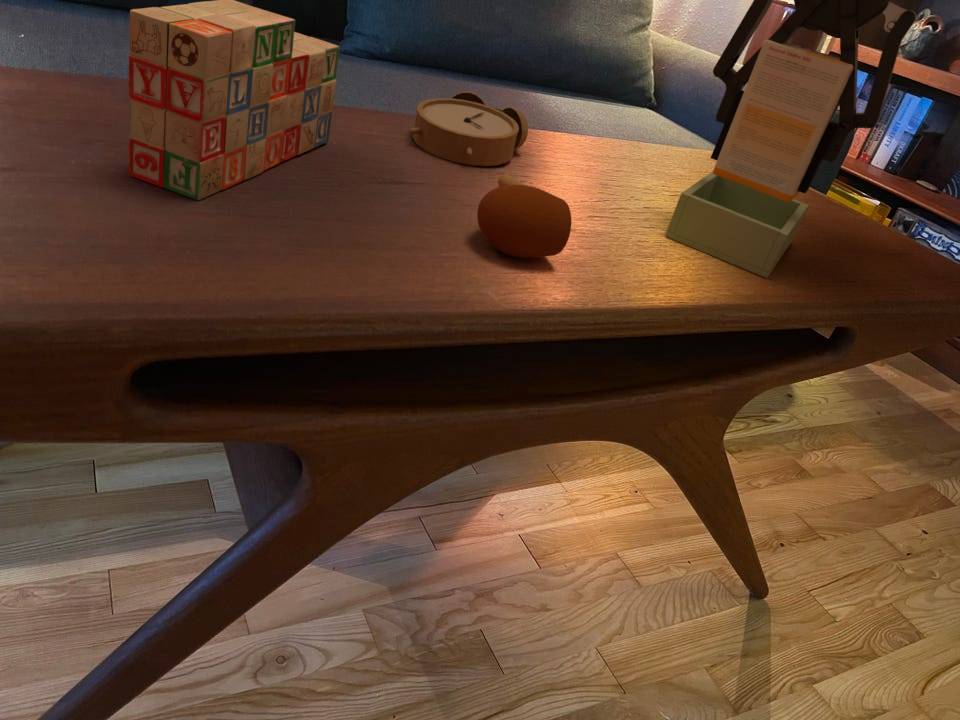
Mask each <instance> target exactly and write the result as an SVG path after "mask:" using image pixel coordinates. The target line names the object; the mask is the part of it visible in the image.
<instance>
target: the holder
mask: <svg viewBox="0 0 960 720" xmlns="http://www.w3.org/2000/svg"><path fill="white" fill-rule="evenodd" d="M808 208H809V204H807V203H804V202H802V201H800V200H797V199H795V198H794V199H793V200H791V201H790V202H789V203H787V202H785V201H782V200H780V199H777V198H775V197H772V196H769V195H767V194H764V193H762V192H759V191H757V190H754V189H752V188H749V187H747V186H744V185H741V184H739V183H736V182H733V181H731V180H728V179H725V178H723V177H719V176H717V175H714V174H713V170H712V171H711V172H710V173H708V174H706V175H705V176H704V177H702V178H701V179H700V180H698V181H696V182H695V183H694V184H692V185H691V186H689V187H688V188H686V189H685V190H684V191H682V192H681V193H680V195H679V198H678V200H677V203H676V206H675V208H674V211H673V213H672V216H671V218H670V221H669V224H668V227H667V228H666V231H665V234H664V237H666V238H668V239H671V240H674V241H675V242H678V243H681V244H683V245H685V246H688V247H690V248H692V249H695V250H698V251H699V252H702V253H704V254H707V255H709V256H712V257H714V258H717V259H719V260H721V261H724V262H727V263H729V264H731V265H733V266H735V267H738V268H741V269H743V270H746V271H748V272H750V273H753V274H754V275H757V276H760V277H762V278H765V279H768V278H769V276H770V275H771V273H772V272H773V270H774V269H775V267H776V266H777V264H778V262H779V261H780V260H781V258H782V257H783V256H784V254H785V252H786V251H787V249H788V248H789V246H790V245H791V243H792V242H793V239H794V237H795V236H796V235H795V234H796V233H797V231H798V228H799V226H800V225H801V222H802V220H803V218H804V216H805V214H806V212H807V210H808Z"/></svg>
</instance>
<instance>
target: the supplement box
mask: <svg viewBox="0 0 960 720" xmlns="http://www.w3.org/2000/svg"><path fill="white" fill-rule="evenodd" d="M768 39H769V38H768ZM768 39H764V40H763V42H762V45H761V46H762V48H761V50H760V53H759V55H758V58H757V61H756V63H755V66H754V68H753V71H752V73H751V76H750V78H749V81H748V83H747V84H746V85H745V87H744V88H745V89H744V90H743V91H744V93H743V96H742V99H741V101H740V104H739V106H738V109H737V111H736V114H735V116H734V119H733V121H732V124H731V126H730V129H729V132H728V134H727V136H726V139H725V142H724V144H723V147H722V149H721V152H720V154H719V157H718V160H716V163H715V165H714V168H713V170H712V171H713V174H714V175H717V176H719V177H723V178H725V179H728V180H731V181H733V182H736V183H739V184H741V185H744V186H747V187H749V188H752V189H754V190H757V191H759V192H762V193H764V194H767V195H769V196H772V197H775V198H777V199H780V200H782V201H785V202H787V203H789V202H790V201H791V200H793V199H794V200H795V198H796V197H797V196H798V195H799V194H800V192H799V191H798V189H799V186H800V184H801V182H802V180H803V178H804V176H805V174H806V172H807V170H808V167H809V165H810V163H811V161H812V159H813V157H814V155H815V153H816V150H817V148H818V146H819V144H820V142H821V140H822V138H823V136H824V134H825V131H826V129H827V127H828V125H829V124H830V123H831V122H832V121H833V120H834V118H835V115H836V113H837V111H838V109H839V104H840V97H841V94H842V92H843V90H844V88H845V86H846V83H847V81H848V79H849V77H850V75H851V73H852V70H853V65H851V64H848V63H845V62H842V61H840V57H837V56H835V55H831V54H827V53H824V52H821V51H817V50H816V49H811V48H808V47H805V46H801V45H798V44H795V43H792V42H789V41H788V42H786V43H783V44H780V43H777V42H774V41H770V40H768Z"/></svg>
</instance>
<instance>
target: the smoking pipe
mask: <svg viewBox="0 0 960 720" xmlns="http://www.w3.org/2000/svg"><path fill="white" fill-rule="evenodd" d="M497 184H498V187H496V188H493V189H491V190H490V191H488V192H487V193H486V194H484V196H483V197H482V198H481V200H480V201H479V203H478V206H477V212H476V213H477V214H476V216H477V217H476V218H477V224H478V227H479V229H480V231H481V233H482V235H483V237H484V238H485V239H486V241H487V242H488V244H489V245H491V246H492V247H494V249H496V250H498V251H500V252H502V253H503V254H505V255H508V256H509V257H514V258H519V259H520V258H524V259H530V258H531V259H532V258H542V257H552V256H553V257H554V256H556V255H558V254H560V253H561V252H562V251H563V250H564V249H565V247H566V246H567V243H568V241H569V238H570V236H571V231H572V213H571V209H570V206H569V205H568V202H567V201H566V200H565V199H563V198H561V197H559V196H557V195H554V194H552V193H550V192H548V191H546V190H543V189H542V188H539V187H535V186H531V185H527V184H526V183H524V182H521V181H520V180H518V179H516V178H515V177H513V176H512V174H509V173H503V174H500V176H499V177H498V180H497Z"/></svg>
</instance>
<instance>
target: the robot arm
mask: <svg viewBox="0 0 960 720" xmlns="http://www.w3.org/2000/svg"><path fill="white" fill-rule="evenodd" d="M773 1H774V0H753V1H752V3H750V6H749V8H748V9H747V11H746V12H745V14H744V16H743V18H742V20H741V21H740V23H739V25H738V26H737V28H736V30H735V31H734V33H733V34H732V36H731V38H730V39H729V41H728V43H727V45H726V46H725V48H724V50H723V51H722V54H721V55H720V56H719V58H718V60H717V62H716V63H715V64H714V67H713V70H712V74H713V76H714V77H716V78H718V79H719V80H720V81H722V82H723V84H724V85H725V92H724V94H723V96H722V98H721V102H720V104H719V106H718V109H717V112H716V115H715V122H718V123H721V124H723V125H722V128H721V130H720V133H719V135H718V138H717V140H716V143H715V145H714V148H713V150H712V152H711V155H710V159H712V160H714V161H717V160H718V157H719V154H720V152H721V149H722V147H723V144H724V142H725V139H726V136H727V134H728V132H729V129H730V126H731V124H732V121H733V119H734V116H735V114H736V111H737V109H738V106H739V104H740V101H741V99H742V96H743V93H744V91H745V90H743V89H744V88H745V87H746V86H747V83H748V81H749V78H750V76H751V73H752V71H753V68H754V66H755V63H756V61H757V58H758V55H759V53H760V50H761V48H762V45H761V46H760V47H759V48H758V49H757V50H756V52H755V53H753V55H752V56H751V57H749V59H748V60H747V61H746V62H745V63H744V64H743V65H742V66H741V67H740V68H739V69H738V70H737V71H736V69H734V67H735V65H736V64H737V62H738V60H739V58H740V57H741V55H742V54H743V52H744V50H745V49H746V47H747V46H748V44H749V42H750V41H751V39H752V37H753V36H754V34H755V32H756V31H757V29H758V27H759V26H760V25H761V23H762V21H763V19H764V18H765V16H766V14H767V13H768V11H769V9H770V8H771V5H772V3H773ZM793 3H794V8H795V9H794V11H792V13H791V14H790V15H789V16H788V17H787V18H786V19H785V20H784V21H783V23H782V24H781V25H780V26H779V27H778V28H777V30H776V31H774V33H773V34H772V35H771V36H770V37H769V38H768V40H770V41H774V42H777V43H780V44H783V43H786V42H789V41H790V40H791V39H792V38H793V37H794V36H795V35H796V34H797V33H799V31H800V30H801V29H802V28H803V29H806V30H809V31H821V32H823V33H824V34H826V35H827V36H829V37H832V38H835V39H838V38H839V50H840V55H839V58H840V61H842V62H845V63H848V64H851V65H853V70H852V73H851V75H850V77H849V79H848V81H847V83H846V86H845V88H844V90H843V92H842V94H841V97H840V104H839V107H838V109H839V110H838V113H839V115H838V122H836V121H833V120H832V122H831V123H830V124H829V125H828V127H827V129H826V131H825V134H824V136H823V138H822V140H821V142H820V144H819V146H818V148H817V150H816V153H815V155H814V157H813V159H812V161H811V163H810V165H809V167H808V170H807V172H806V174H805V176H804V178H803V180H802V182H801V184H800V186H799V189H798V191H799V193H802V194H803V195H804V194H806V193H807V192H808V191H809V189H810V187H811V185H812V183H813V181H814V179H815V177H816V175H817V173H818V171H819V169H820V167H821V164H822V162H823V161H826V162H829V163H833V162H834V161H835V160H837V158H838V157H839V155H840V153H841V151H842V149H843V147H844V146H845V143H846V141H847V139H848V137H849V135H850V133H851V132H852V131H853V130H855V129H872V128H874V127H876V125H877V124H878V121H879V120H880V116H881V114H882V110H883V106H884V103H885V99H886V96H887V93H888V90H889V86H890V83H891V80H892V76H893V73H894V69H895V67H896V63H897V59H898V55H899V52H900V48H901V45H902V41H903V39H905V37H906V35H907V33H908V32H909V31H910V30H911V28H912V26H913V25H914V23H915V22H916V20H917V14H916V12H915V11H914V10H907V9H905V8H903V7H901V6H899V5H897V4H895V3H893V2H891V0H793ZM881 14H882V15H883V16H884V18H885V21H884V24H883V29H884V31H885V32H886V33H888V34H887V37H886V38H885V41H884V44H883V46H882V51H881V54H880V58H879V61H878V64H877V68H876V72H875V74H874V79H873V81H872V86H871V89H870V93H869V97H868V99H867V100H868V101H867V104H866V107H865V111H864V112H857V101H858V100H857V99H858V98H857V97H858V65H859V63H858V62H859V61H858V60H859V44H860V29H861V28H862V27H864V26H865V25H867V24H869V23H870V22H871V21H873V20H874V19H875V18H877V17H878V16H880V15H881Z"/></svg>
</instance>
